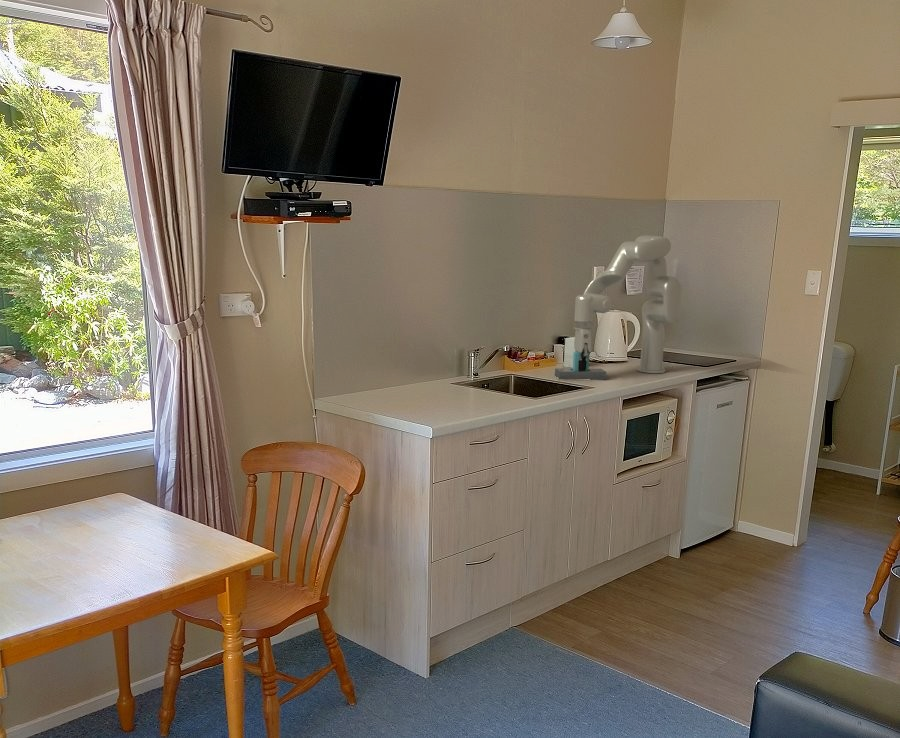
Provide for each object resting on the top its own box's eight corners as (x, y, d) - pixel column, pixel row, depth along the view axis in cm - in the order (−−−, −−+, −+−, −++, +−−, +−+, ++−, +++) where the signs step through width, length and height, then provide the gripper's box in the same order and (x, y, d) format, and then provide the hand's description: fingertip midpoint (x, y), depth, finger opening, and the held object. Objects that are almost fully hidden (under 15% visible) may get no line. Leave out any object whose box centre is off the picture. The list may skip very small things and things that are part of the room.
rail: (600, 376, 341) (601, 368, 341) (605, 380, 335) (606, 371, 334) (554, 376, 339) (555, 368, 338) (558, 379, 332) (559, 371, 331)
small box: (574, 368, 358) (576, 339, 356) (563, 366, 363) (564, 337, 360) (585, 366, 364) (587, 338, 361) (574, 364, 368) (575, 336, 366)
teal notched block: (586, 373, 338) (587, 351, 337) (588, 374, 335) (589, 353, 334) (572, 373, 338) (573, 351, 336) (574, 374, 335) (575, 353, 333)
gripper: (598, 328, 325) (595, 372, 329) (586, 322, 341) (583, 365, 345) (580, 327, 324) (577, 372, 328) (569, 322, 340) (566, 365, 344)
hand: (580, 368), depth 336 cm, fingers closed on teal notched block, 3 cm apart
